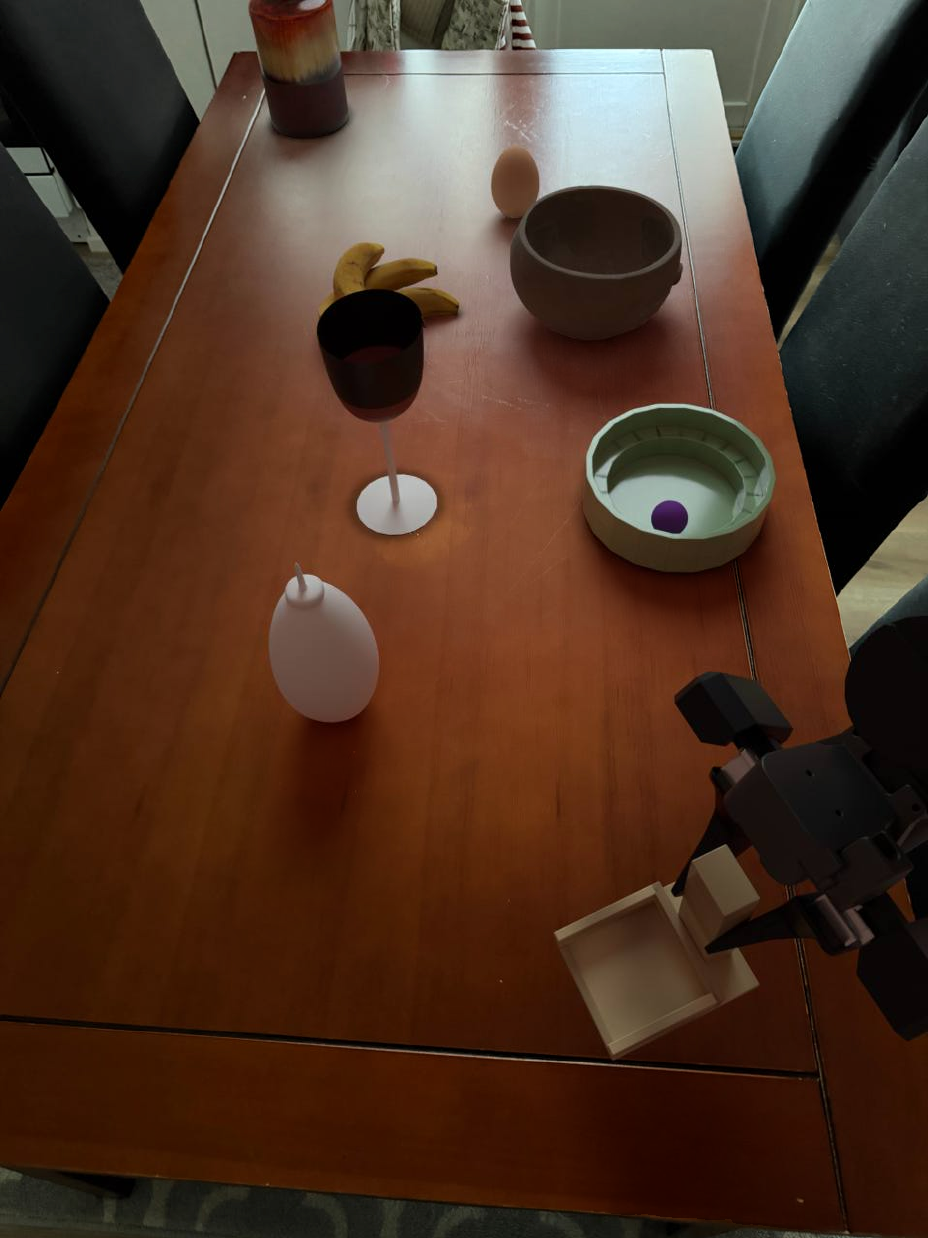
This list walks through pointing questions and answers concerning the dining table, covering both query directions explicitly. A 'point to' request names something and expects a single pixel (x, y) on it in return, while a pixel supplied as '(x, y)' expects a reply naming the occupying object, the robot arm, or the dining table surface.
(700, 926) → the scoop
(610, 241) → the bowl
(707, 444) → the green bowl
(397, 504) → the wineglass
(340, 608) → the sauce bottle
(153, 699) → the dining table surface
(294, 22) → the vase
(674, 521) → the ball
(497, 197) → the egg
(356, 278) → the banana
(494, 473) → the dining table surface
